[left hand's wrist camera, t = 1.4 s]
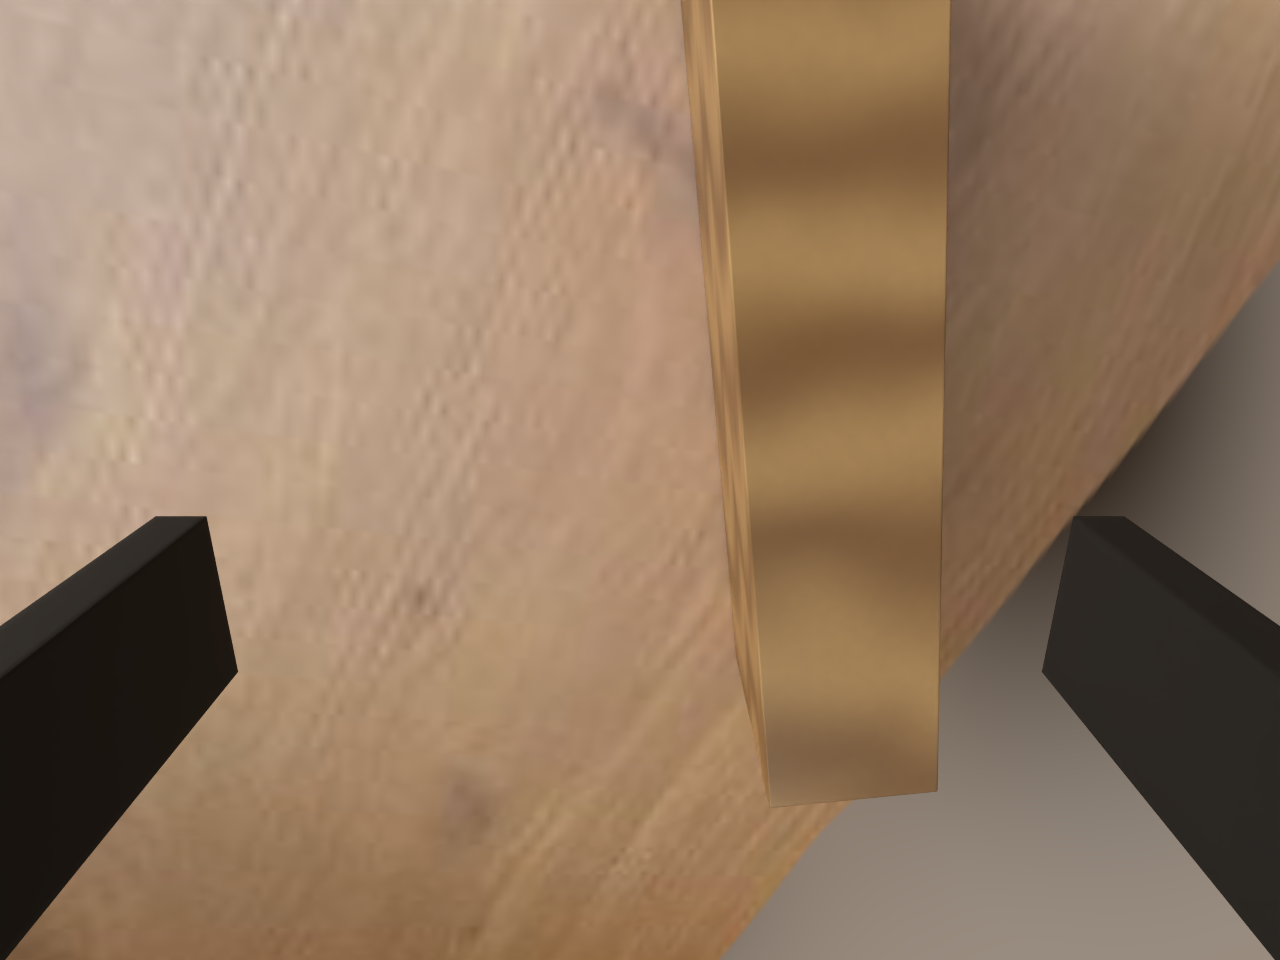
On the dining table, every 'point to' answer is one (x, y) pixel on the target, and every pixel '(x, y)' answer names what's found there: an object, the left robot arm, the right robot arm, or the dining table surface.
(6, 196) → the dining table surface
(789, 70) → the bar
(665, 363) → the dining table surface
